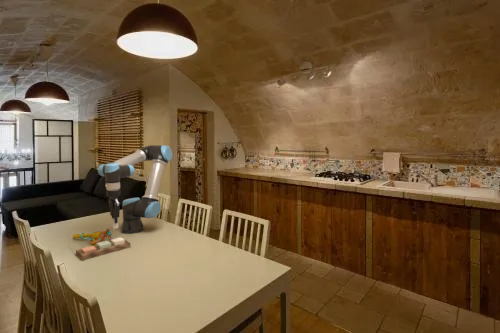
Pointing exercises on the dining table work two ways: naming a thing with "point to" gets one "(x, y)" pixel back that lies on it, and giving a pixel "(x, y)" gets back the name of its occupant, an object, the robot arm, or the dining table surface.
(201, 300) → the dining table surface
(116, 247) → the board
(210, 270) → the dining table surface
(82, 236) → the toy gun
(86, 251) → the tile terracotta
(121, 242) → the tile cream
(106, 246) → the tile sage
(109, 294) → the dining table surface
